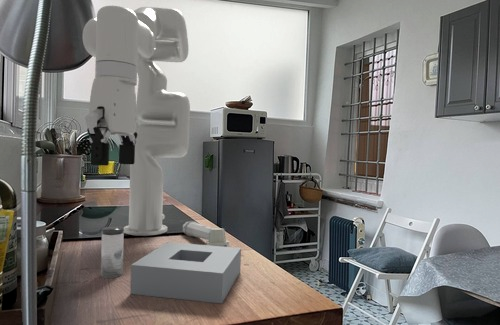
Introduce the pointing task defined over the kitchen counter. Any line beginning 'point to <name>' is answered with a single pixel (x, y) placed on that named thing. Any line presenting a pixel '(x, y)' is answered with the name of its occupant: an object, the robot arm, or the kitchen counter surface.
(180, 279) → the socket block
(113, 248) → the cylinder
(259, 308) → the kitchen counter surface
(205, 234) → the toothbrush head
